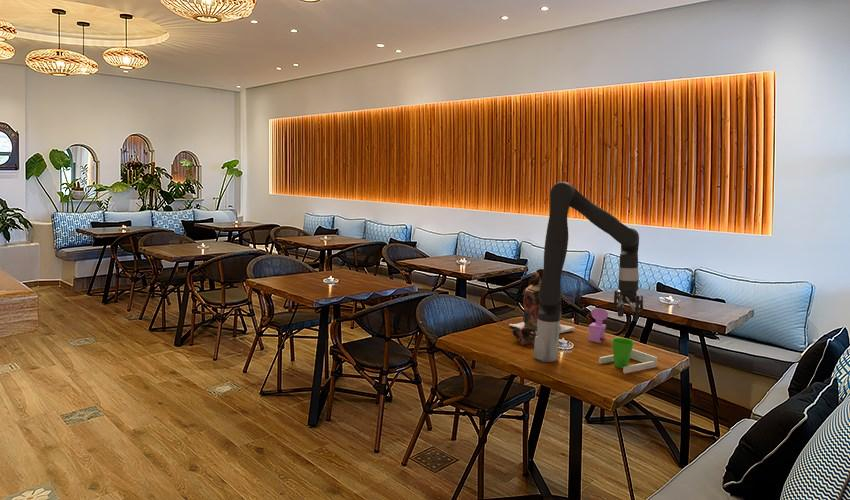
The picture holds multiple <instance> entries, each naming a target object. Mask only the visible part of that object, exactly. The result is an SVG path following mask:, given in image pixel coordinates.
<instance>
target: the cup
mask: <svg viewBox="0 0 850 500" xmlns="http://www.w3.org/2000/svg"><path fill="white" fill-rule="evenodd" d="M611 342H612V351H613V353H612V355H614V361H613V362H614V366H615V368H619V369H623V367H625V366H629V364H630V363H629V362H630V359H631V358H630V355H631V351H632V349H633V347H634V344H635V341H634V340H633V339H630V338H626V337H614V338H612V339H611Z"/></svg>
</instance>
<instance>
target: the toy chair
mask: <svg viewBox="0 0 850 500" xmlns="http://www.w3.org/2000/svg"><path fill="white" fill-rule="evenodd" d="M590 315H591V316H592V318H593V319H594V320H595V322H592V323H590V324H589V325H588V331H589V332H588V333H589V337H588V339H587V341H590V342H594V343H595V342H596V343H602V341H601V339H604V340H605V339H606V336H605V330H606V329H607V324H603V321H604V320H606V319H607V318H608V317H609V312H608V311H607V310H605V309H604V308H600V307H596V308H593V309H592V310H590Z"/></svg>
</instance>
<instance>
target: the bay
mask: <svg viewBox="0 0 850 500" xmlns="http://www.w3.org/2000/svg"><path fill="white" fill-rule="evenodd" d="M630 359H632V360H635V361H638V362H640V363H635V364H630V365H628V366H625V367H623V368H622V369H623V370H622V373H623V374H628V373H635V372H638V371H643V370H648V369H653V368H657V367H658V360H659V359H658V357H657V356H655V355H652V354H649V353H645V352H642V351H640V350H637V349H634V348H632V351H631V355H630ZM612 362H614V354H611V355H610V354H609V355H605V356H599V357H598V364H600V365H601V364H607V363H612Z"/></svg>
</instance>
